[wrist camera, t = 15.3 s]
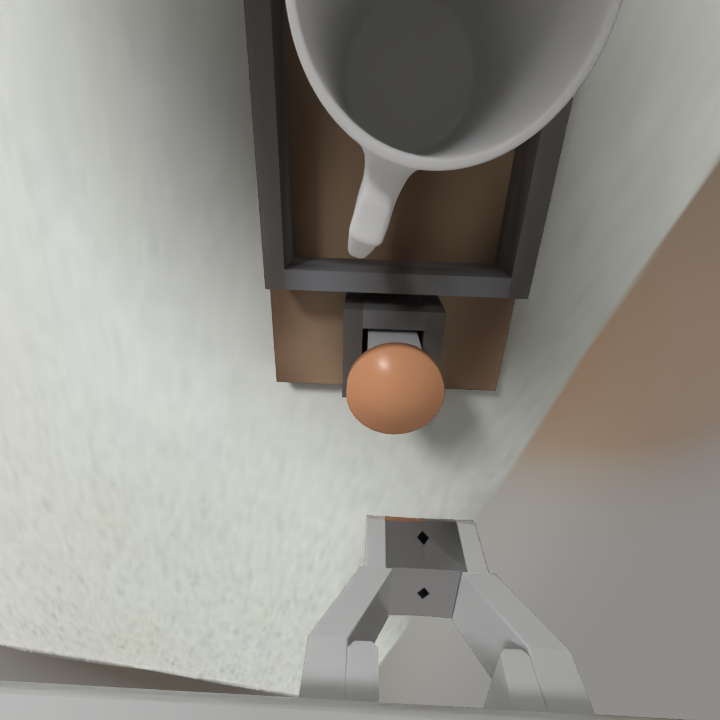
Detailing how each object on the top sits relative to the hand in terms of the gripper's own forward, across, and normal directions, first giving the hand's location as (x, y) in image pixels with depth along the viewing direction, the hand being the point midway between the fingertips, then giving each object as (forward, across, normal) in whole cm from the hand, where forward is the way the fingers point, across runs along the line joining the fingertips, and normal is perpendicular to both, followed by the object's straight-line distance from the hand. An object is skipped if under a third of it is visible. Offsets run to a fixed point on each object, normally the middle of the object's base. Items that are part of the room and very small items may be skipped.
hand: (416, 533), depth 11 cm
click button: (+12, 0, 0) cm, 12 cm away
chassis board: (+16, 0, -8) cm, 18 cm away
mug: (+14, +1, -11) cm, 18 cm away
